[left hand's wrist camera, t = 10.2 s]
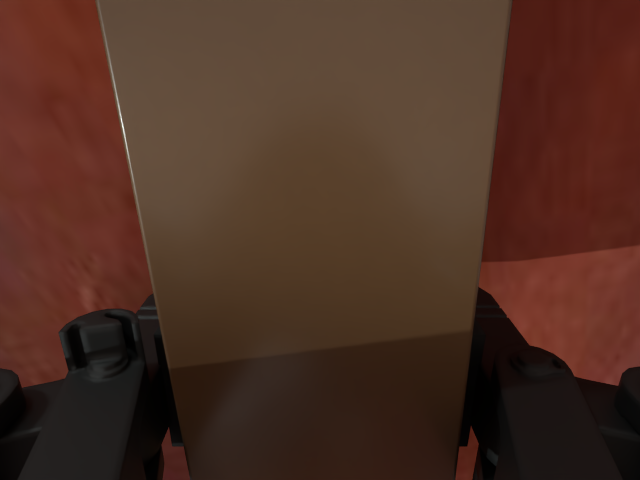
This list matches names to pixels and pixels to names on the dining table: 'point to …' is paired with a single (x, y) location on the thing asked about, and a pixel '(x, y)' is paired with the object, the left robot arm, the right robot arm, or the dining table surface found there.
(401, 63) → the bar
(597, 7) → the dining table surface
